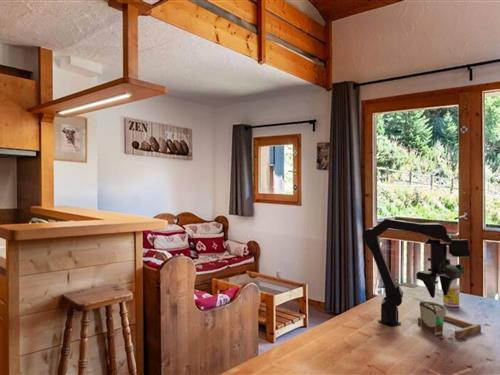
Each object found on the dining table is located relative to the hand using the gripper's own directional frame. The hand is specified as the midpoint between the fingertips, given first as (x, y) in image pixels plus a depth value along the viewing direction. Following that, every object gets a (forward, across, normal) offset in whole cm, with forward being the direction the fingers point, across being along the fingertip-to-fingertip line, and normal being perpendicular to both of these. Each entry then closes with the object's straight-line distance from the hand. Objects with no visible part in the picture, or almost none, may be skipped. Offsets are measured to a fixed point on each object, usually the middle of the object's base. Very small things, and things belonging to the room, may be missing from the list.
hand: (439, 296), depth 143 cm
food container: (+13, -2, 0) cm, 14 cm away
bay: (+13, -1, 0) cm, 13 cm away
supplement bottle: (+13, +32, +18) cm, 39 cm away
